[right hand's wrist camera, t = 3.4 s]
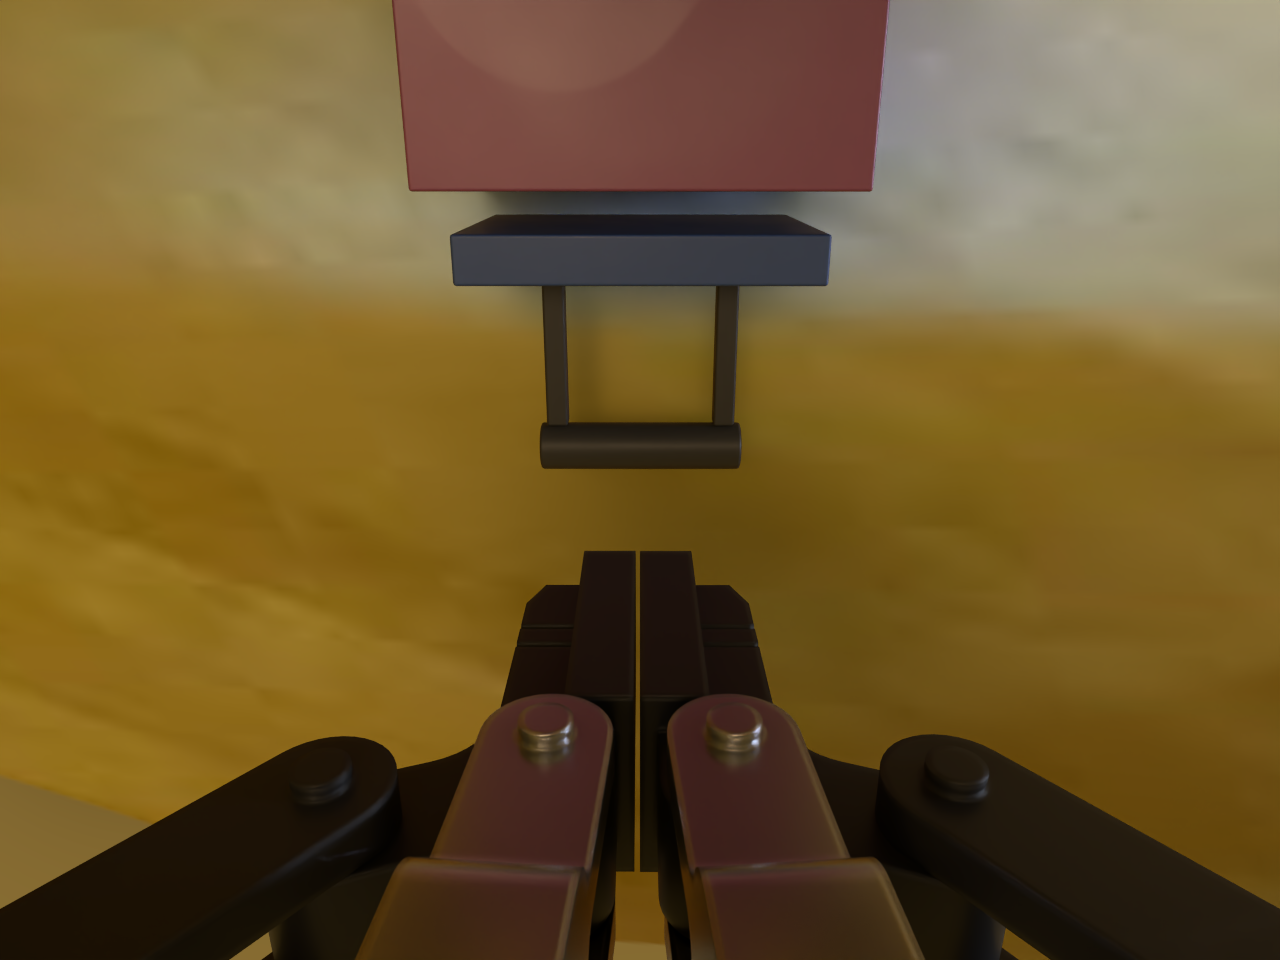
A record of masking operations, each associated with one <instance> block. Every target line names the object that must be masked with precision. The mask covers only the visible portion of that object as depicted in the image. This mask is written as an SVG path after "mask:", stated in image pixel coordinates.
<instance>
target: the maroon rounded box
mask: <svg viewBox="0 0 1280 960" xmlns="http://www.w3.org/2000/svg"><path fill="white" fill-rule="evenodd" d="M889 4H890V0H392V6H393V18H394V29H395V40H396V51H397V62H398V74H399V85H400V96H401V107H402V118H403V130H404V141H405V152H406V163H407V175H408V186H409V190H410V191H872V189H873V182H874V170H875V159H876V148H877V137H878V126H879V115H880V104H881V93H882V82H883V71H884V60H885V49H886V37H887V26H888V15H889Z"/></svg>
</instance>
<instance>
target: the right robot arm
mask: <svg viewBox="0 0 1280 960" xmlns="http://www.w3.org/2000/svg"><path fill="white" fill-rule="evenodd" d="M635 713H636V554H635V551H584V557H583V564H582V571H581V578H580V585H546V586H545V587H544V588H543V589H542V590H541V591H539V592H538V593H537V594H536V595H535V596H534V597H533V598H532V599H531V600H530V601H529V602H528V603H527V604H526V608H525V612H524V616H523V620H522V624H521V629H520V632H519V636H518V640H517V647H516V648H515V652H514V656H513V660H512V664H511V668H510V672H509V676H508V680H507V684H506V688H505V692H504V696H503V700H502V704H501V708H499V709H498V710H496V711H495V712H494V713H493V714H491V715H490V716H489V717H488V719H487V720H486V721H485V722H484V724H483V726H482V727H481V729H480V732H479V734H478V737H477V739H476V742H475V744H473V745H472V746H470V747H468V748H467V749H465V750H463V751H461V752H459V753H457V754H454V755H451V756H449V757H446V758H443V759H439V760H436V761H432V762H428V763H423V764H419V765H414V766H409V767H405V768H400V769H397V766H396V762H395V759H394V757H393V755H392V754H391V753H390V751H389V750H388V749H386V748H385V747H384V746H383V745H381V744H379V743H377V742H375V741H372V740H368V739H365V738H359V737H349V736H340V737H329V738H323V739H317V740H314V741H310V742H307V743H304V744H301V745H298V746H296V747H293V748H291V749H289V750H287V751H285V752H283V753H281V754H279V755H277V756H276V757H274V758H272V759H270V760H268V761H267V762H265V763H263V764H261V765H259V766H258V767H256V768H254V769H252V770H250V771H248V772H247V773H245V774H243V775H241V776H239V777H238V778H236V779H234V780H232V781H230V782H229V783H227V784H225V785H223V786H221V787H220V788H218V789H216V790H214V791H212V792H211V793H209V794H207V795H205V796H203V797H202V798H200V799H198V800H196V801H194V802H192V803H191V804H189V805H187V806H185V807H183V808H182V809H180V810H178V811H176V812H174V813H173V814H171V815H169V816H167V817H165V818H164V819H162V820H160V821H158V822H156V823H155V824H153V825H151V826H149V827H147V828H146V829H144V830H142V831H140V832H138V833H137V834H135V835H133V836H131V837H129V838H128V839H126V840H124V841H122V842H120V843H119V844H117V845H115V846H113V847H111V848H109V849H108V850H106V851H104V852H102V853H100V854H99V855H97V856H95V857H93V858H91V859H90V860H88V861H86V862H84V863H82V864H81V865H79V866H77V867H75V868H73V869H71V870H70V871H68V872H66V873H64V874H62V875H61V876H59V877H57V878H55V879H53V880H52V881H50V882H48V883H46V884H44V885H43V886H41V887H39V888H37V889H35V890H34V891H32V892H30V893H28V894H26V895H25V896H23V897H21V898H19V899H17V900H16V901H14V902H12V903H10V904H8V905H6V906H5V907H3V908H1V909H0V960H229V959H231V958H232V957H234V956H235V955H237V954H238V953H239V952H241V951H242V950H243V949H245V948H246V947H248V946H249V945H251V944H252V943H253V942H255V941H256V940H258V939H259V938H260V937H262V936H263V935H265V934H266V933H268V932H269V936H270V942H271V947H272V953H270V954H269V955H267V956H266V957H265V958H263V959H262V960H613V953H614V945H615V932H616V924H615V886H616V871H634V837H635ZM640 872H658V889H659V902H660V906H661V909H662V912H663V914H664V915H665V924H664V933H665V945H666V953H667V960H1018V959H1017V958H1015V957H1014V956H1013V955H1011V954H1010V953H1009V952H1007V951H1006V950H1004V949H1003V948H1002V943H1003V938H1004V933H1005V928H1007V929H1008V930H1010V931H1011V932H1012V933H1014V934H1015V935H1017V936H1018V937H1019V938H1021V939H1022V940H1024V941H1025V942H1027V943H1028V944H1029V945H1031V946H1032V947H1034V948H1035V949H1036V950H1038V951H1039V952H1041V953H1042V954H1043V955H1045V956H1046V957H1048V958H1049V959H1050V960H1280V909H1279V908H1277V907H1275V906H1273V905H1272V904H1270V903H1268V902H1266V901H1264V900H1263V899H1261V898H1259V897H1257V896H1255V895H1254V894H1252V893H1250V892H1248V891H1246V890H1245V889H1243V888H1241V887H1239V886H1237V885H1236V884H1234V883H1232V882H1230V881H1228V880H1227V879H1225V878H1223V877H1221V876H1219V875H1218V874H1216V873H1214V872H1212V871H1210V870H1208V869H1207V868H1205V867H1203V866H1201V865H1199V864H1198V863H1196V862H1194V861H1192V860H1190V859H1189V858H1187V857H1185V856H1183V855H1181V854H1180V853H1178V852H1176V851H1174V850H1172V849H1171V848H1169V847H1167V846H1165V845H1163V844H1162V843H1160V842H1158V841H1156V840H1154V839H1152V838H1151V837H1149V836H1147V835H1145V834H1143V833H1142V832H1140V831H1138V830H1136V829H1134V828H1133V827H1131V826H1129V825H1127V824H1125V823H1124V822H1122V821H1120V820H1118V819H1116V818H1115V817H1113V816H1111V815H1109V814H1107V813H1106V812H1104V811H1102V810H1100V809H1098V808H1097V807H1095V806H1093V805H1091V804H1089V803H1087V802H1086V801H1084V800H1082V799H1080V798H1078V797H1077V796H1075V795H1073V794H1071V793H1069V792H1068V791H1066V790H1064V789H1062V788H1060V787H1059V786H1057V785H1055V784H1053V783H1051V782H1050V781H1048V780H1046V779H1044V778H1042V777H1041V776H1039V775H1037V774H1035V773H1033V772H1031V771H1030V770H1028V769H1026V768H1024V767H1022V766H1021V765H1019V764H1017V763H1015V762H1013V761H1012V760H1010V759H1008V758H1006V757H1004V756H1003V755H1001V754H999V753H997V752H995V751H993V750H991V749H989V748H987V747H985V746H983V745H981V744H978V743H975V742H973V741H970V740H966V739H962V738H959V737H953V736H947V735H935V734H933V735H918V736H912V737H909V738H906V739H902V740H900V741H898V742H896V743H894V744H893V745H892V746H891V747H889V748H888V749H887V751H886V752H885V753H884V755H883V757H882V759H881V762H880V770H876V769H872V768H867V767H863V766H858V765H854V764H849V763H845V762H841V761H837V760H833V759H830V758H827V757H824V756H822V755H819V754H817V753H815V752H813V751H811V750H809V749H807V747H806V744H805V742H804V739H803V737H802V734H801V732H800V729H799V727H798V726H797V724H796V722H795V721H794V720H793V719H792V717H791V716H790V715H789V714H787V713H786V712H785V711H784V710H782V709H781V708H779V707H777V706H776V705H774V704H773V703H772V699H771V694H770V690H769V686H768V682H767V678H766V674H765V669H764V665H763V661H762V657H761V653H760V649H759V647H758V640H757V636H756V632H755V629H754V624H753V620H752V615H751V611H750V607H749V603H748V602H746V601H745V600H744V599H743V598H742V597H741V596H740V595H739V594H738V593H737V592H736V591H735V590H734V589H733V588H732V587H730V586H729V585H695V577H694V569H693V561H692V554H691V551H640Z"/></svg>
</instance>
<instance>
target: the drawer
mask: <svg viewBox="0 0 1280 960" xmlns="http://www.w3.org/2000/svg"><path fill="white" fill-rule="evenodd" d="M831 239H832V237H831V235H829V234H827V233H825V232H823V231H820V230H818V229H816V228H814V227H812V226H809V225H807V224H805V223H803V222H800V221H798V220H796V219H794V218H791V217H789V216H787V215H494V216H492V217H490V218H487V219H485V220H483V221H481V222H479V223H476V224H474V225H472V226H470V227H467V228H465V229H463V230H461V231H459V232H456V233H454V234H452V235H450V246H451V259H452V273H453V283H454V285H455V286H542V302H543V328H544V353H545V379H546V404H547V422H544V423H542V426H541V431H540V459H541V465H542V467H543V468H544V469H737V468H739V465H740V461H741V430H740V425H739V423H734V408H735V384H736V359H737V334H738V309H739V286H826V285H827V284H828V279H829V265H830V252H831ZM565 286H716V304H715V336H714V369H713V401H712V421H713V423H600V422H568V421H569V396H568V363H567V329H566V295H565Z"/></svg>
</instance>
